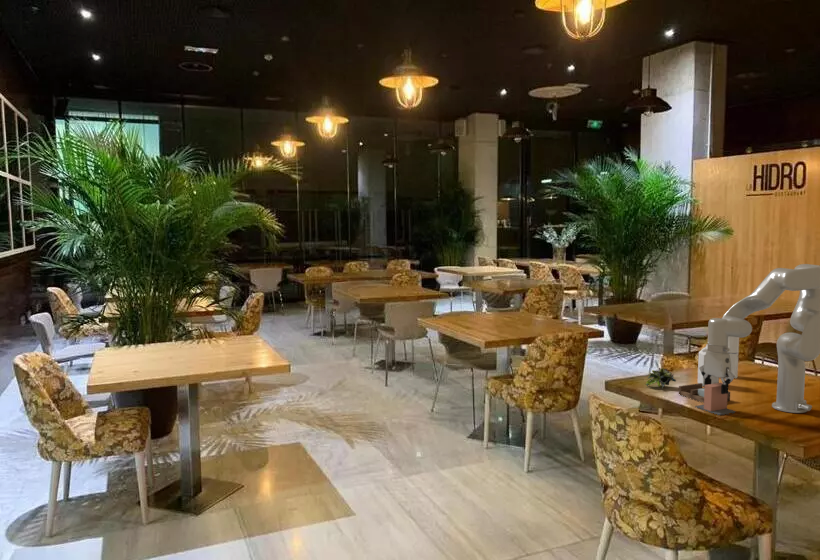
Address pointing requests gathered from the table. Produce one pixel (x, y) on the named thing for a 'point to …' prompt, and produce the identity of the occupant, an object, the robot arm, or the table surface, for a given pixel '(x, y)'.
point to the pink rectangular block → (714, 397)
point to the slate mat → (718, 412)
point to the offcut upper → (701, 392)
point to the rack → (694, 392)
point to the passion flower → (660, 377)
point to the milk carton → (701, 363)
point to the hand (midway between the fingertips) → (716, 390)
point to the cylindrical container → (734, 354)
